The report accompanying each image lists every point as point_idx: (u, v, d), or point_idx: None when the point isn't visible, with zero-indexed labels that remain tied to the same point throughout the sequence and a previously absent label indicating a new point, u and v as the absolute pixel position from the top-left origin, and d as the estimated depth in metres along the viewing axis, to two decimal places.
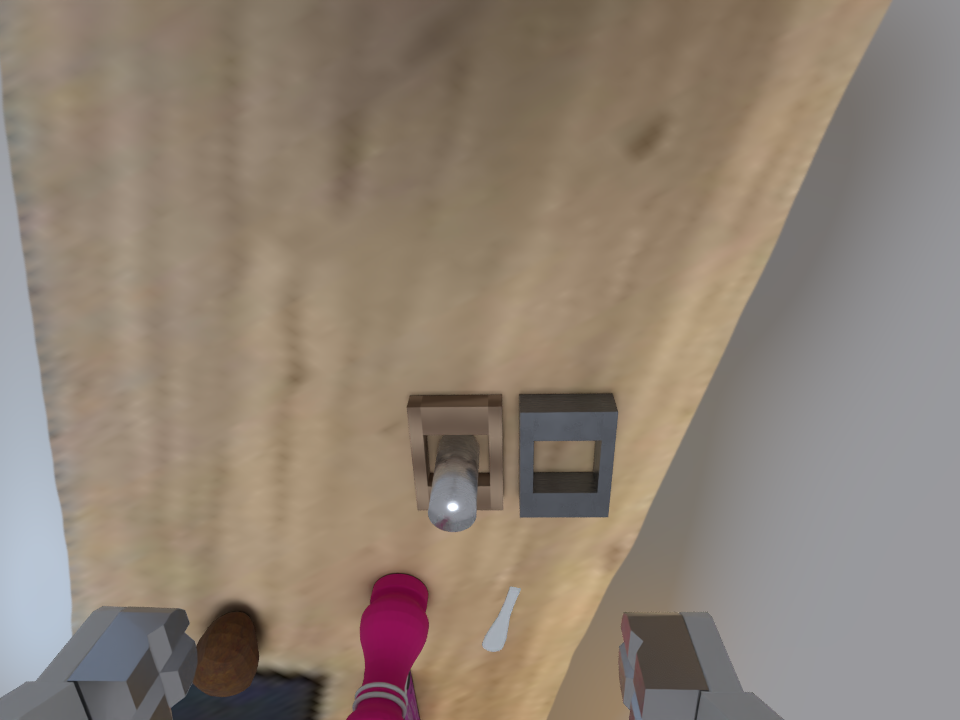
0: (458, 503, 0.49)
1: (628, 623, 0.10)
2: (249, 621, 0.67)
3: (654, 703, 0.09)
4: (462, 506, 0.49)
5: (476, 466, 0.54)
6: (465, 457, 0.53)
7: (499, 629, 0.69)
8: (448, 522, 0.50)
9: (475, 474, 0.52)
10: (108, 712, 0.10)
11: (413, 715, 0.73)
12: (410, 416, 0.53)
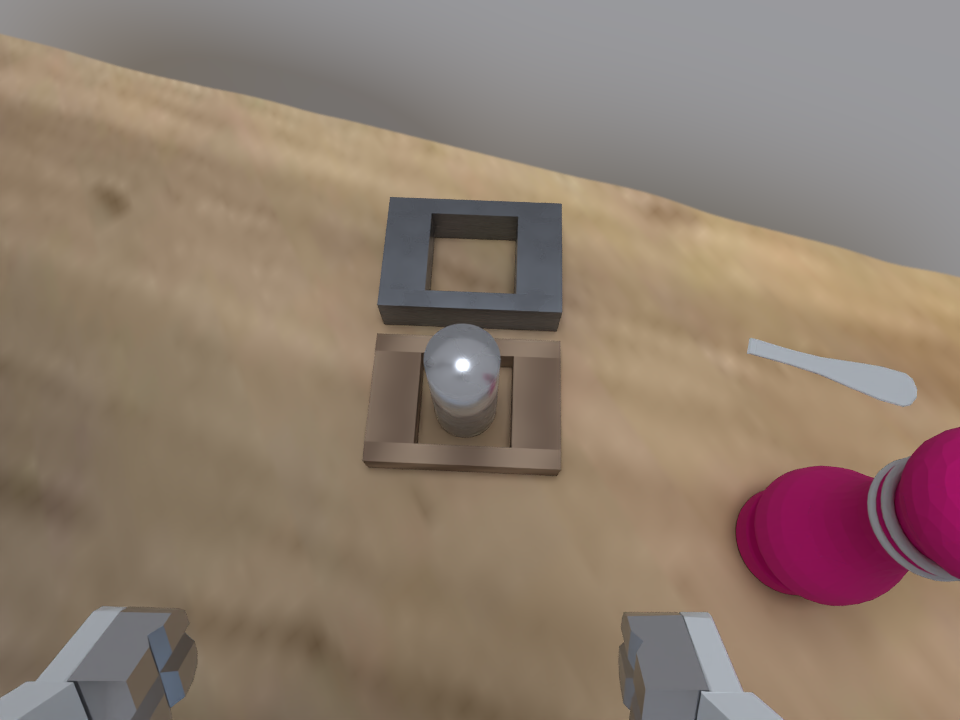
0: (441, 347, 0.31)
1: (628, 623, 0.10)
2: None
3: (654, 703, 0.09)
4: (447, 342, 0.31)
5: None
6: None
7: (855, 373, 0.40)
8: (480, 365, 0.31)
9: None
10: (108, 712, 0.10)
11: None
12: (378, 457, 0.36)
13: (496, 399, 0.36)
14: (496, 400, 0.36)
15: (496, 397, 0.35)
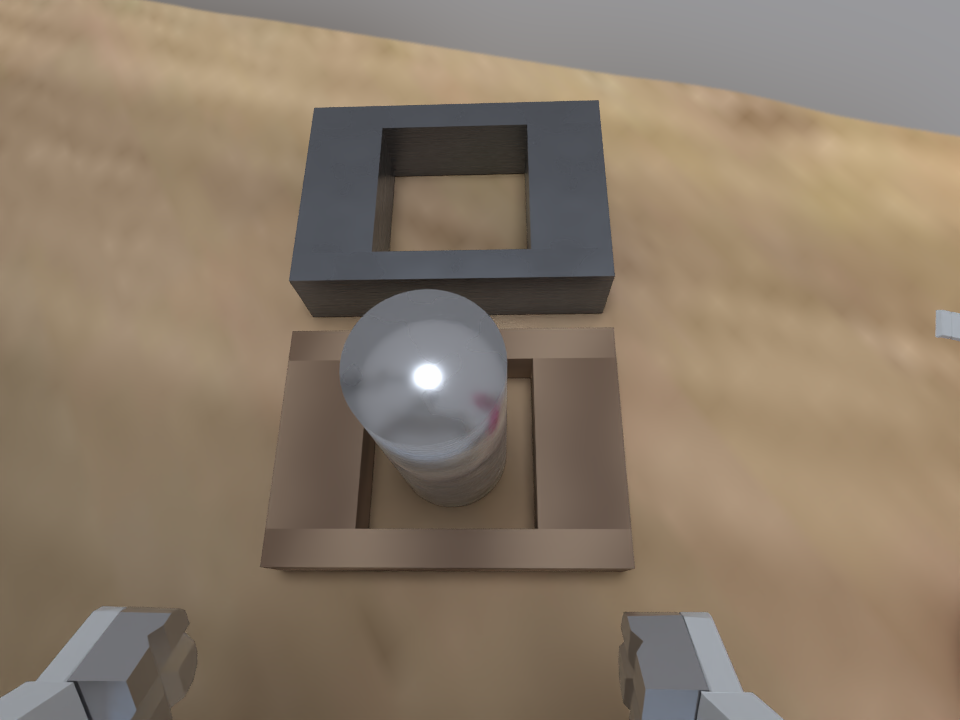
0: (377, 341, 0.14)
1: (628, 623, 0.10)
2: None
3: (654, 703, 0.09)
4: (391, 329, 0.15)
5: None
6: None
7: None
8: (463, 375, 0.14)
9: None
10: (108, 712, 0.10)
11: None
12: (289, 559, 0.19)
13: (505, 439, 0.19)
14: (505, 441, 0.19)
15: (504, 436, 0.18)
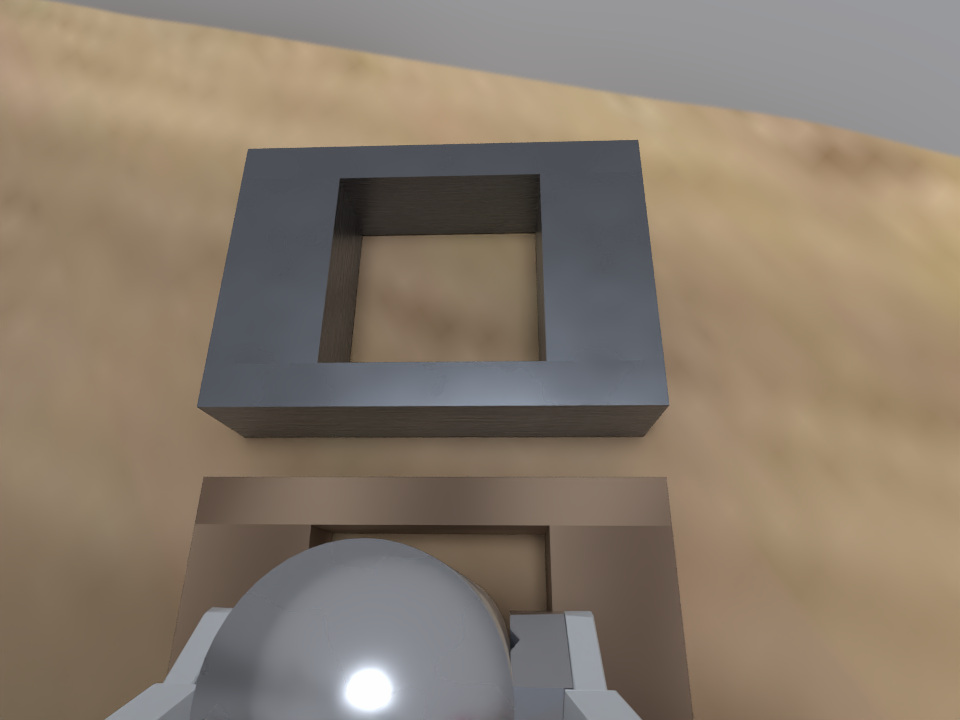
0: (267, 653, 0.08)
1: (510, 622, 0.10)
2: None
3: (521, 701, 0.09)
4: (295, 626, 0.08)
5: None
6: None
7: None
8: None
9: None
10: None
11: None
12: None
13: None
14: None
15: None
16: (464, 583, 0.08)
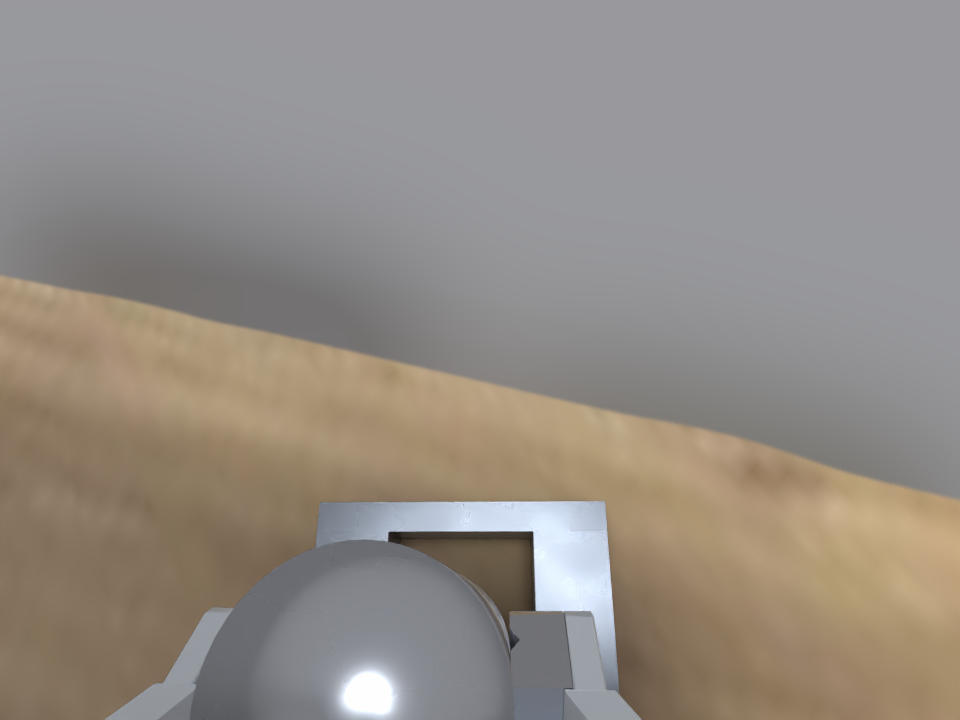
0: (267, 654, 0.08)
1: None
2: None
3: (521, 701, 0.09)
4: (295, 627, 0.08)
5: None
6: None
7: None
8: None
9: None
10: None
11: None
12: None
13: None
14: None
15: None
16: (464, 585, 0.08)
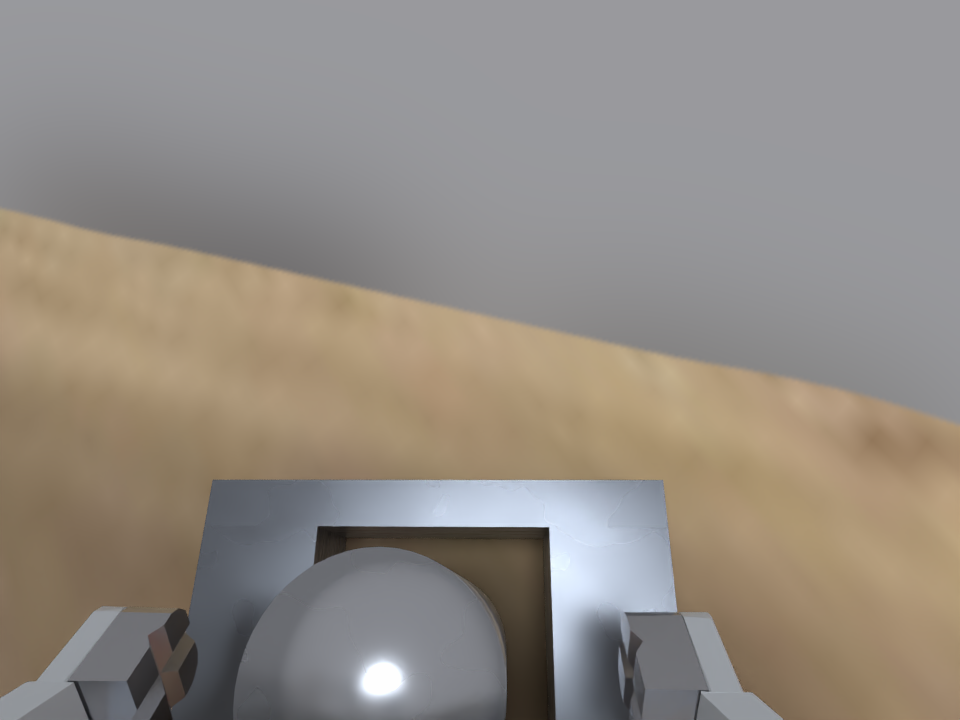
0: (298, 644, 0.09)
1: (627, 623, 0.10)
2: None
3: (653, 703, 0.09)
4: (321, 622, 0.09)
5: None
6: None
7: None
8: (435, 717, 0.09)
9: None
10: (108, 712, 0.10)
11: None
12: None
13: None
14: None
15: None
16: (464, 585, 0.09)
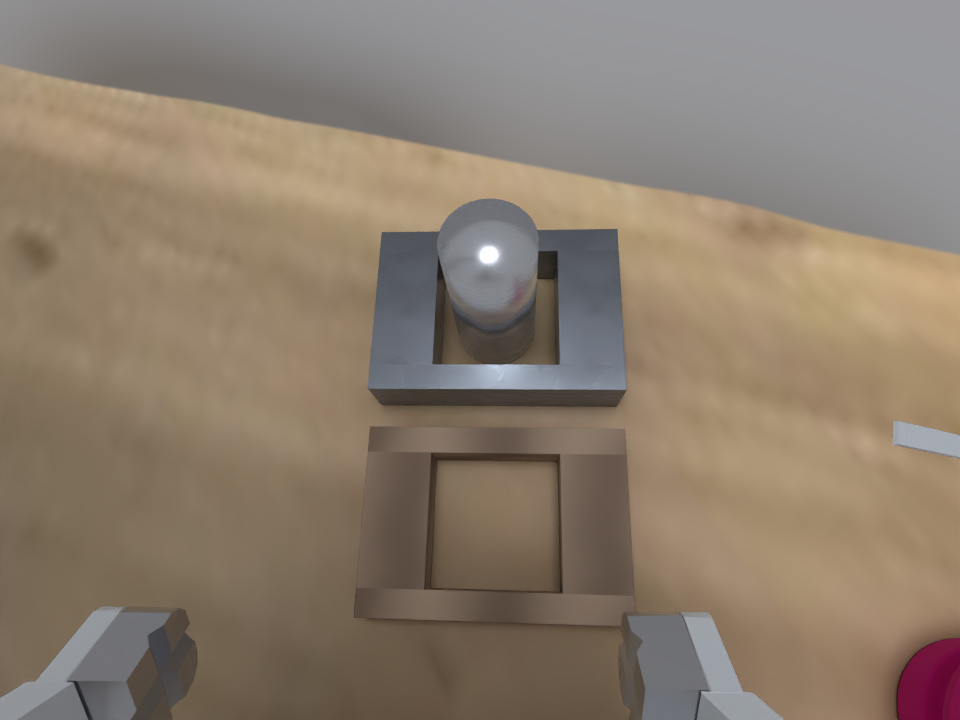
0: (459, 229, 0.24)
1: (628, 623, 0.10)
2: None
3: (654, 703, 0.09)
4: (467, 222, 0.24)
5: None
6: None
7: None
8: (512, 249, 0.23)
9: None
10: (108, 712, 0.10)
11: None
12: (375, 612, 0.26)
13: (534, 309, 0.28)
14: (534, 311, 0.28)
15: (534, 305, 0.28)
16: (522, 210, 0.24)
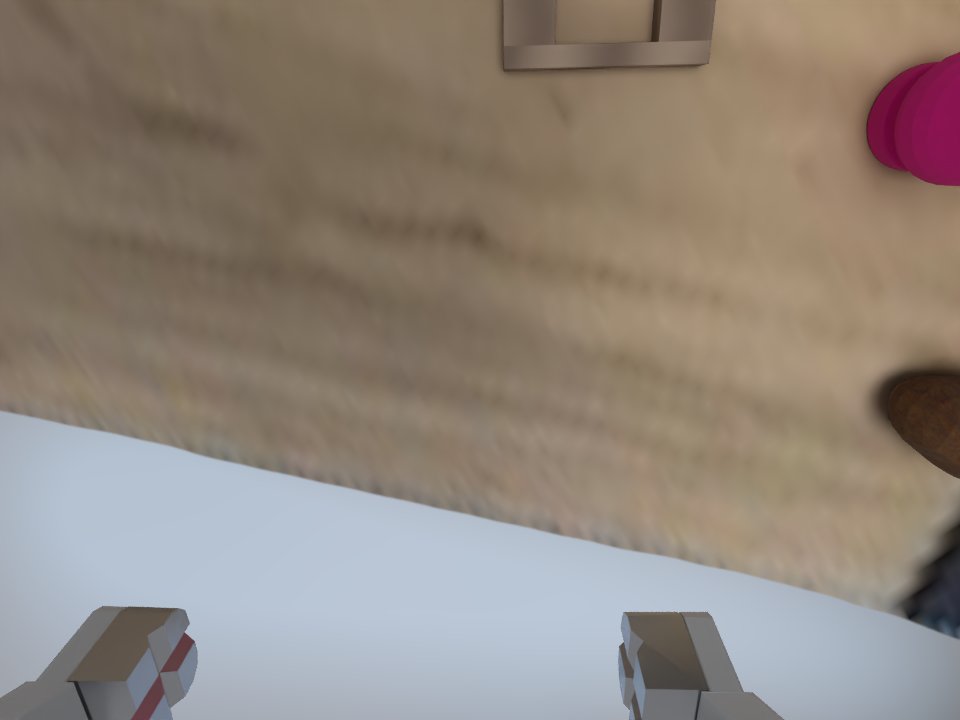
0: None
1: (628, 623, 0.10)
2: (910, 379, 0.42)
3: (654, 703, 0.09)
4: None
5: None
6: None
7: None
8: None
9: None
10: (108, 712, 0.10)
11: None
12: (519, 63, 0.35)
13: None
14: None
15: None
16: None
